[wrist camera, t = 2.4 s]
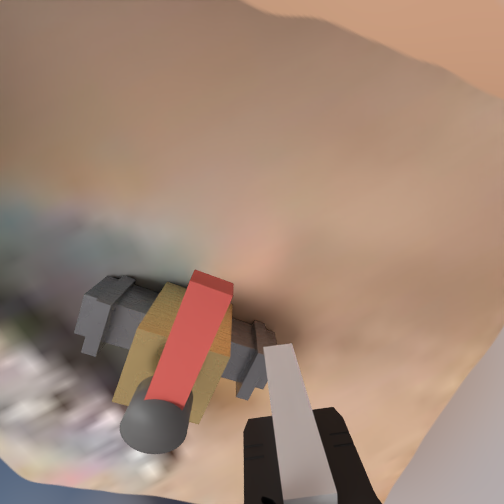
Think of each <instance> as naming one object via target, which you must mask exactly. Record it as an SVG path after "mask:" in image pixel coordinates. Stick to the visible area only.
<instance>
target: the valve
mask: <svg viewBox="0 0 504 504" xmlns="http://www.w3.org/2000/svg"><path fill="white" fill-rule="evenodd" d="M135 280H136V279H133V278H130V277H127V276H124V275H123V276H122V277H121V278H120V279H116V278H113V277H110V276H107V277H105V278H104V279H103V280H102V281H100V282H99V283H98V284H97V285H95V286H94V287H93V288H92V289H90V290H89V291H88V292H87V293H85V294H84V298H83V301H82V305H81V309H80V313H79V316H78V320H77V324H76V328H75V331H74V333H76V334H79V335H82V336H86V337H85V340H84V344H83V347H82V351H81V353H85V354H88V355H92V356H95V357H96V355H97V354H98V353H99V352H100V350H101V349H102V348H103V346H104V345H105V344H106V343H109V344H113V345H116V346H119V347H123V348H126V349H129V353H128V356H127V359H126V362H125V365H124V368H123V371H122V374H121V377H120V380H119V383H118V386H117V388H116V391H115V394H114V397H113V400H112V402H115V403H119V404H123V405H127V406H129V404H130V401H131V399H132V397H133V395H134V393H135V391H136V389H137V387H138V385H139V384H140V383H141V382H142V381H143V380H144V379H146V378H148V377H150V376H153V375H154V373H155V370H156V368H157V365H158V362H159V360H160V357H161V355H162V352H163V349H164V347H165V344H166V342H167V339H168V336H169V334H170V331H171V329H172V326H173V323H174V321H175V318H176V316H177V313H178V310H179V308H180V305H181V303H182V300H183V297H184V295H185V292H186V290H187V288H184V287H181V286H178V285H175V284H172V283H169V282H167V283H166V284H165V286H164V287H163V289H162V290H161V292H160V293H157V292H154V291H151V290H148V289H145V288H142V287H140V286H137V285H134V283H135ZM275 345H277V342H276V338H275V333H274V332H272V331H269V330H266V328H265V324H264V323H261V322H258V321H254V323H253V325H251V324H248V323H245V322H242V321H239V320H236V319H233V318H232V304H229V306H228V309H227V311H226V313H225V315H224V318H223V320H222V322H221V324H220V327H219V329H218V331H217V333H216V336H215V338H214V340H213V343H212V345H211V347H210V349H209V352H208V354H207V356H206V358H205V361H204V363H203V365H202V367H201V370H200V372H199V374H198V376H197V379H196V381H195V383H194V385H193V388H192V392H193V404H192V409H191V414H190V419H189V422H191V423H195V424H199V422H200V420H201V418H202V416H203V414H204V412H205V410H206V408H207V405H208V403H209V401H210V399H211V397H212V395H213V393H214V391H215V388H216V386H217V384H218V382H219V380H220V378H221V377H223V378H226V379H230V380H233V381H236V397H238V398H241V399H245V400H248V399H249V397H250V396H251V394H252V392H253V390H254V388H255V387H257V388H260V389H263V388H264V387H265V385H266V383H267V381H268V379H267V372H266V364H265V356H264V349H263V347H267V346H275Z"/></svg>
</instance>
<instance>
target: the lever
mask: <svg viewBox="0 0 504 504" xmlns="http://www.w3.org/2000/svg"><path fill="white" fill-rule="evenodd" d="M233 285H234V284H233V283H231V282H228V281H225V280H222V279H220V278H217V277H214V276H211V275H209V274H206V273H203V272H200V271H198V270H194V273H193V275H192V277H191V279H190V282H189V284H188V287H187V290H186V292H185V295H184V297H183V300H182V303H181V305H180V308H179V310H178V313H177V316H176V318H175V321H174V323H173V326H172V329H171V331H170V334H169V336H168V339H167V342H166V344H165V347H164V349H163V352H162V355H161V357H160V360H159V362H158V365H157V368H156V370H155V373H154V375H153V376H150V377H148V378H146V379H144V380H143V381H142V382H141V383H140V384H139V385H138V387H137V389H136V391H135V393H134V395H133V397H132V399H131V401H130V404H129V406H128V408H127V410H126V412H125V414H124V416H123V419H122V421H121V423H120V433H121V436H122V438H123V440H124V441H125V442H126V443H127V444H128V445H129V446H130V447H132V448H133V449H135V450H137V451H140V452H143V453H148V454H162V453H166V452H170V451H172V450H174V449H176V448H177V447H179V446H180V445H181V444H182V443H183V441H184V440H185V437H186V434H187V429H188V424H189V419H190V414H191V409H192V404H193V392H192V388H193V385H194V383H195V381H196V379H197V376H198V374H199V372H200V370H201V367H202V365H203V363H204V361H205V358H206V356H207V354H208V352H209V349H210V347H211V345H212V343H213V340H214V338H215V336H216V333H217V331H218V329H219V327H220V324H221V322H222V320H223V318H224V315H225V313H226V311H227V309H228V306H229V304H230V302H231V300H232V297H233Z"/></svg>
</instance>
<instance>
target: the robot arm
mask: <svg viewBox="0 0 504 504" xmlns="http://www.w3.org/2000/svg"><path fill="white" fill-rule="evenodd" d="M263 349H264V356H265V364H266V372H267V379H268V387H269V395H270V402H271V410H272V416H268V417H260V418H253V419H248V421H247V424H246V427H245V429H244V432H243V433H244V504H382V503H381V502H380V500H379V499H378V498H377V496H376V494H375V492H374V490H373V488H372V486H371V483H370V481H369V479H368V476H367V474H366V471H365V469H364V467H363V464H362V462H361V460H360V457H359V455H358V452H357V450H356V448H355V445H354V443H353V440H352V438H351V436H350V434H349V431H348V429H347V426H346V424H345V421H344V419H343V417H342V416H341V415H340V414H339V413H338V412H337V411H336V410H335V408H334V407H329V408H322V409H314V410H312V408H311V405H310V402H309V398H308V395H307V392H306V388H305V385H304V382H303V378H302V375H301V372H300V368H299V365H298V362H297V359H296V355H295V352H294V349H293V345H292V343H290V344H282V345H275V346H267V347H263Z"/></svg>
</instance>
